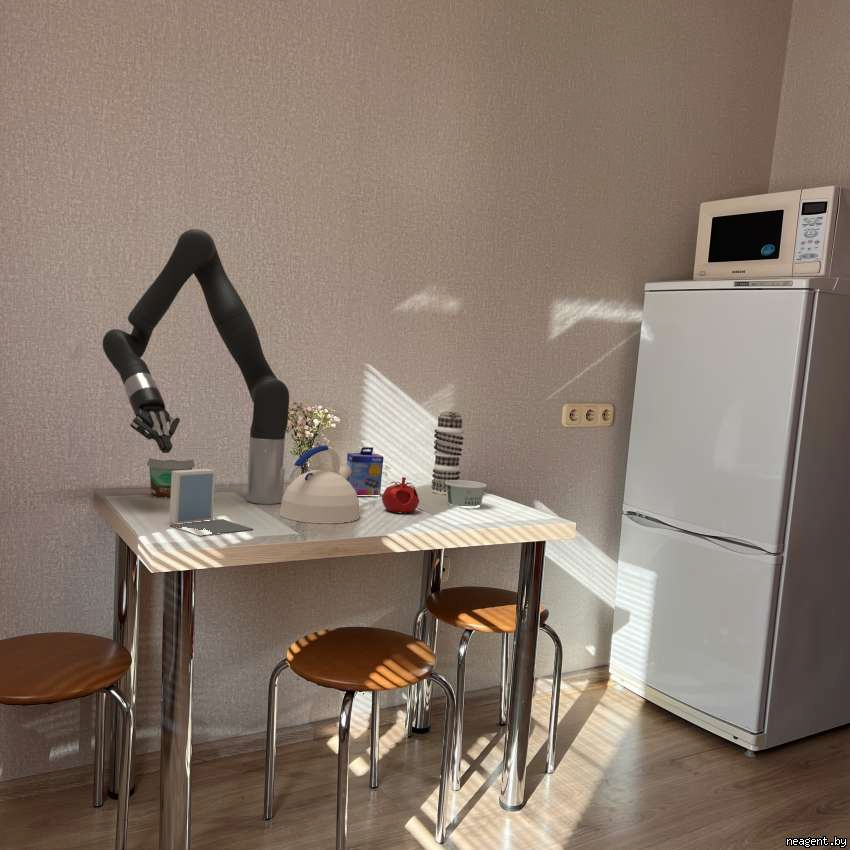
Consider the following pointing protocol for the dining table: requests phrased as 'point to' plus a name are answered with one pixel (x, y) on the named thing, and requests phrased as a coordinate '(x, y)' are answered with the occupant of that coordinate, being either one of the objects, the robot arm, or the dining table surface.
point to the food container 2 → (465, 492)
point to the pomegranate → (400, 497)
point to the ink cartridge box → (365, 471)
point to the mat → (215, 526)
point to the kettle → (321, 493)
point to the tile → (192, 495)
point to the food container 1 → (165, 474)
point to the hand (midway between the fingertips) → (167, 450)
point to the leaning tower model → (447, 450)
